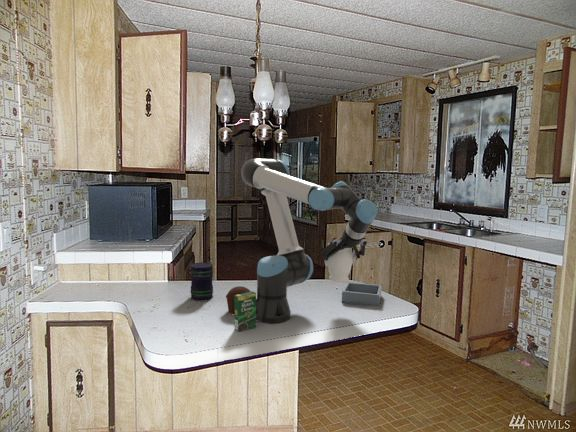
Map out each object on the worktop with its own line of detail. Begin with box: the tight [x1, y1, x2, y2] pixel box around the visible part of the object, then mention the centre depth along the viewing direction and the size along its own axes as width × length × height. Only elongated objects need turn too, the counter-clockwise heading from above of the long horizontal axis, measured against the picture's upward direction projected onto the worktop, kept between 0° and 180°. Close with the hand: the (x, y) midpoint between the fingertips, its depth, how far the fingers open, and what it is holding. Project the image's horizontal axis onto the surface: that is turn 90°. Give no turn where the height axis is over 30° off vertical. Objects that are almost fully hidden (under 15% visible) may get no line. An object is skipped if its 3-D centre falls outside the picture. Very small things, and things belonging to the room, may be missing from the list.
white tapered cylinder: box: [327, 247, 353, 283], centre depth 170 cm, size 11×10×15 cm
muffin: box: [225, 286, 252, 316], centre depth 166 cm, size 12×11×10 cm
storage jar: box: [190, 261, 214, 302], centre depth 183 cm, size 10×10×15 cm
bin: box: [341, 281, 382, 307], centre depth 187 cm, size 16×16×5 cm
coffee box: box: [233, 291, 257, 332], centre depth 149 cm, size 8×3×13 cm, turn 127°
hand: (338, 263), depth 172 cm, fingers closed on white tapered cylinder, 10 cm apart
